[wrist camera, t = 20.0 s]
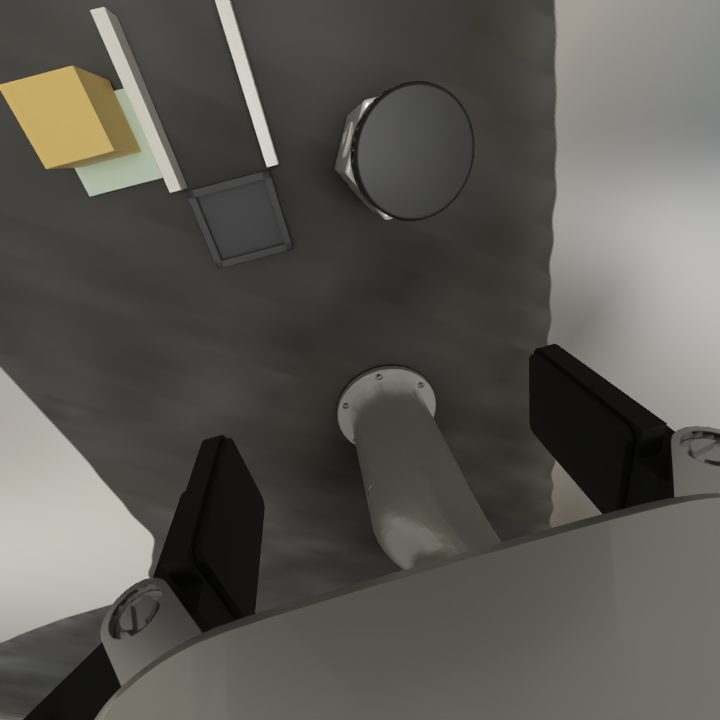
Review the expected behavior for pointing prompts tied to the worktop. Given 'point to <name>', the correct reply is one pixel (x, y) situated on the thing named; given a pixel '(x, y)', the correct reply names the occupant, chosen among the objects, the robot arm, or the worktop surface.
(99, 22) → the channel
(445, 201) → the jar
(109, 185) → the coaster
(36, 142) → the block
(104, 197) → the worktop surface
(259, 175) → the tray
